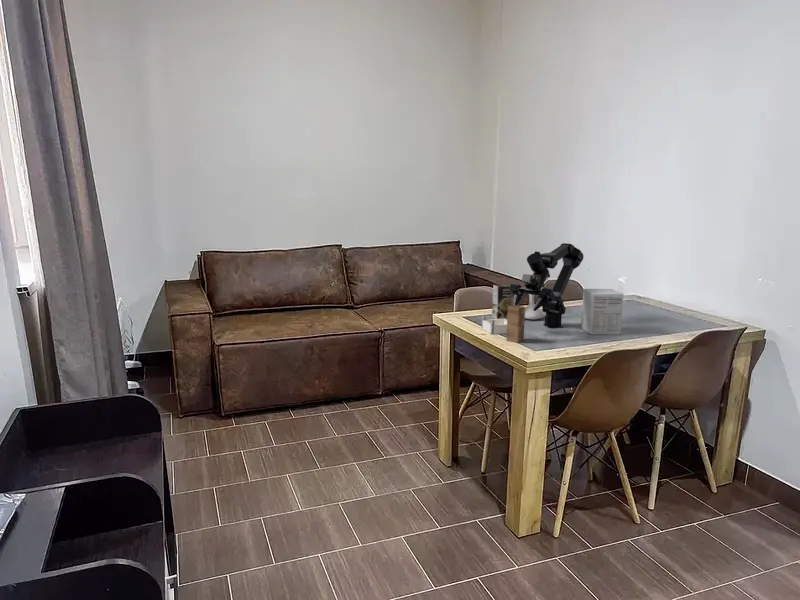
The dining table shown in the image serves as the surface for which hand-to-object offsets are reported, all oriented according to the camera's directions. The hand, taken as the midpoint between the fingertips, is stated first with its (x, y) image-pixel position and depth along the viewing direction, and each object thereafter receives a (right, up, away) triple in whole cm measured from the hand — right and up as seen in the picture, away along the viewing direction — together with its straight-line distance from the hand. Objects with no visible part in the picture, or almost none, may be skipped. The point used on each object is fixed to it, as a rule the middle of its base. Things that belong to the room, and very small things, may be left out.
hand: (523, 308), depth 245 cm
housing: (-8, -10, +14) cm, 19 cm away
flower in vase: (+12, -5, +37) cm, 39 cm away
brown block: (-4, -13, -2) cm, 14 cm away
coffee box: (-2, -6, +36) cm, 36 cm away
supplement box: (+36, -10, +15) cm, 40 cm away
